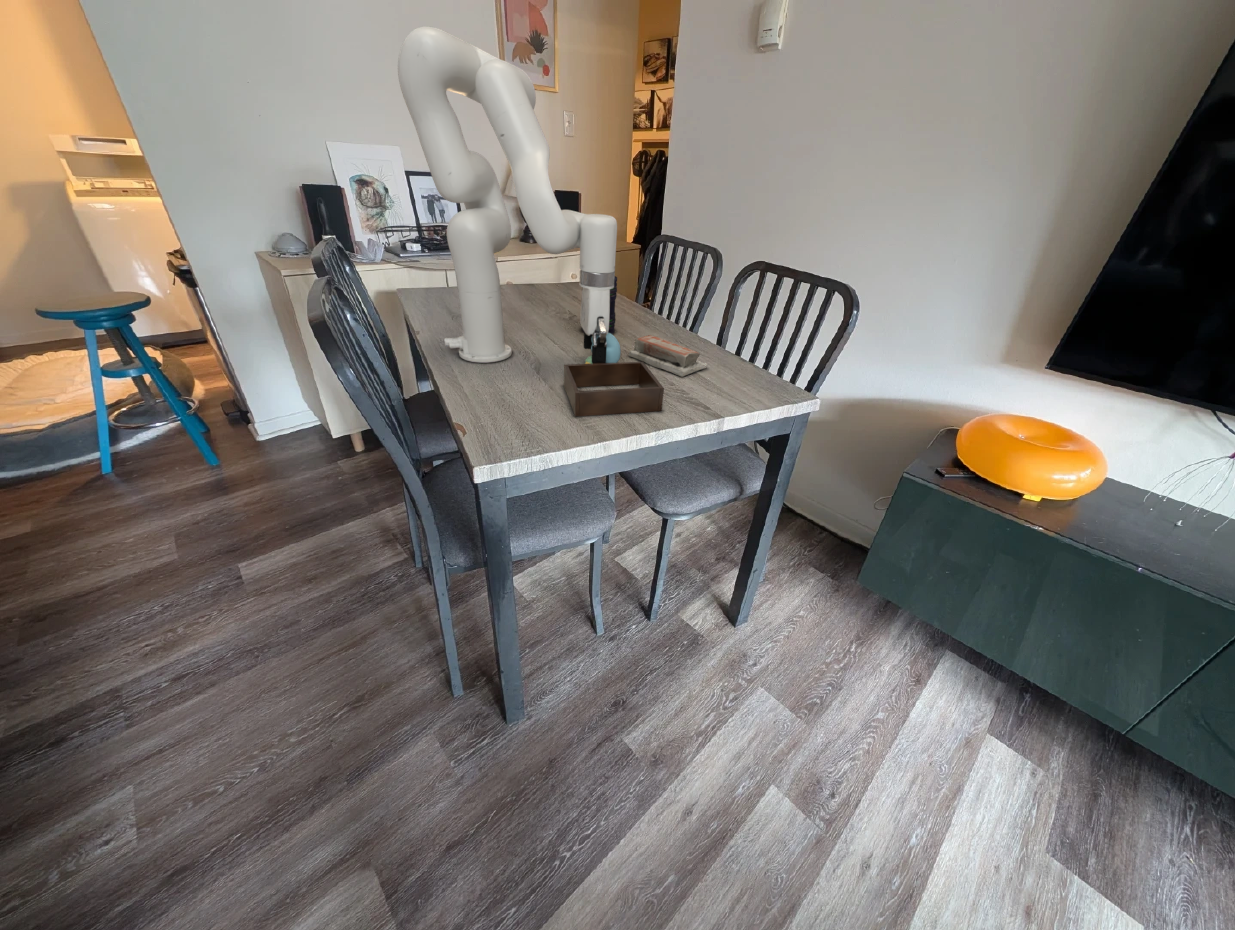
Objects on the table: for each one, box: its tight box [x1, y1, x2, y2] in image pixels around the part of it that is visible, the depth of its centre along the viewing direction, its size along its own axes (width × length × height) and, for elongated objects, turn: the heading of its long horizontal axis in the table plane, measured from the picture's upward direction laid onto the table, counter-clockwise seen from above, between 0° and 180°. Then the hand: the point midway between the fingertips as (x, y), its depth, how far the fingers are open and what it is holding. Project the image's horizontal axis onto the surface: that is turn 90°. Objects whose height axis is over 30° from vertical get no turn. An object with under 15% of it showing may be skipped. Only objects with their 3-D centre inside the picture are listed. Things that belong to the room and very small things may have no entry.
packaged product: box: [628, 334, 708, 378], centre depth 117 cm, size 18×5×10 cm
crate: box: [563, 361, 665, 417], centre depth 98 cm, size 18×15×5 cm
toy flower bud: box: [584, 333, 622, 364], centre depth 110 cm, size 7×9×12 cm
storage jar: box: [581, 275, 618, 335], centre depth 134 cm, size 10×10×15 cm
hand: (594, 355), depth 111 cm, fingers open, 9 cm apart
